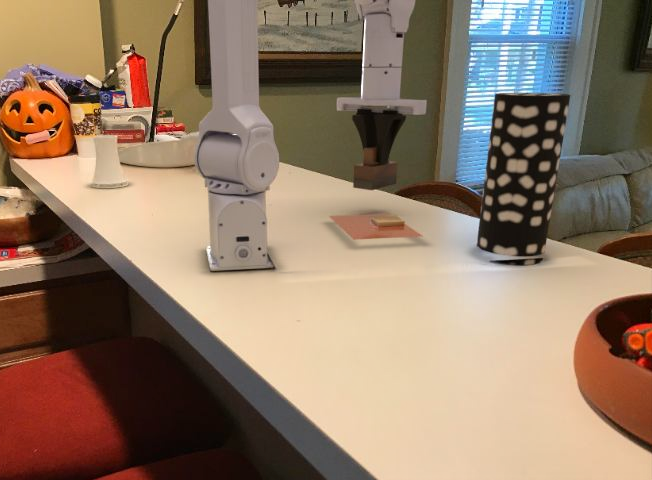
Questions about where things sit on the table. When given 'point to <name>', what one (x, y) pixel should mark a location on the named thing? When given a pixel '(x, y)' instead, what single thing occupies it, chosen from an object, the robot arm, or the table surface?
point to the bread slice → (387, 220)
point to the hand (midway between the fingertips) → (376, 161)
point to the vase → (107, 163)
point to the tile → (371, 227)
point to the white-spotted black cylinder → (521, 174)
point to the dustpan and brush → (162, 152)
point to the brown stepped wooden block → (374, 172)
